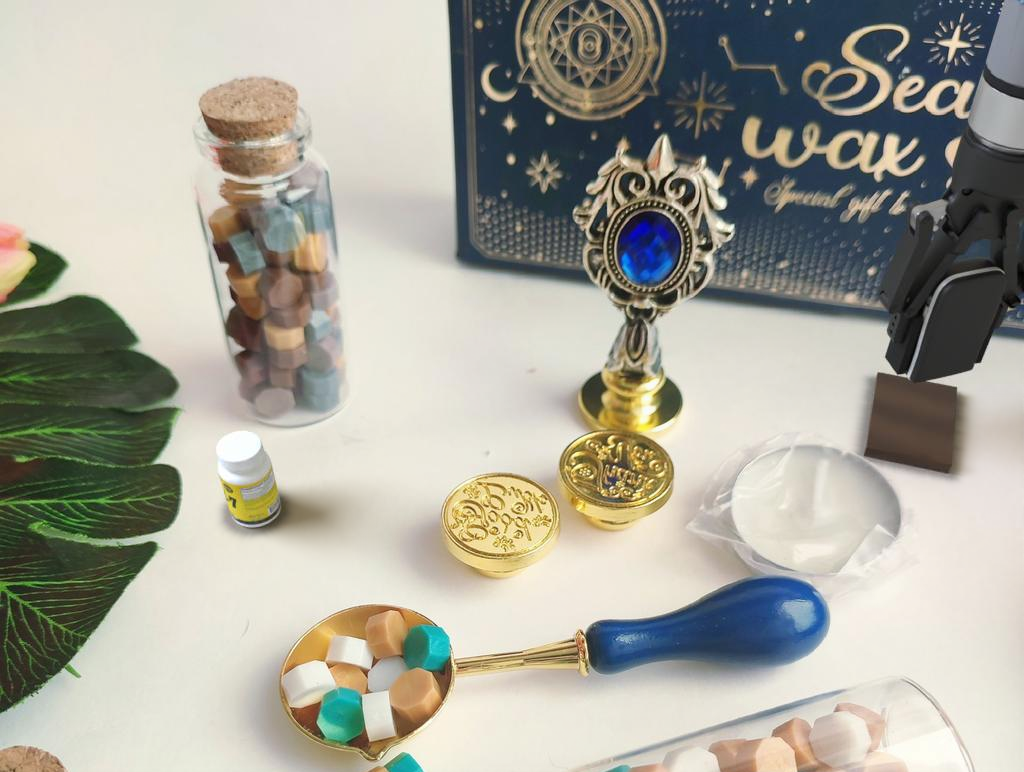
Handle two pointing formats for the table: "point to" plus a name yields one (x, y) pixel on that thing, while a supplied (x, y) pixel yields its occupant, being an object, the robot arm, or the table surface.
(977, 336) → the battery charger
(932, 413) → the walnut board
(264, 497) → the supplement bottle
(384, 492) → the table surface
